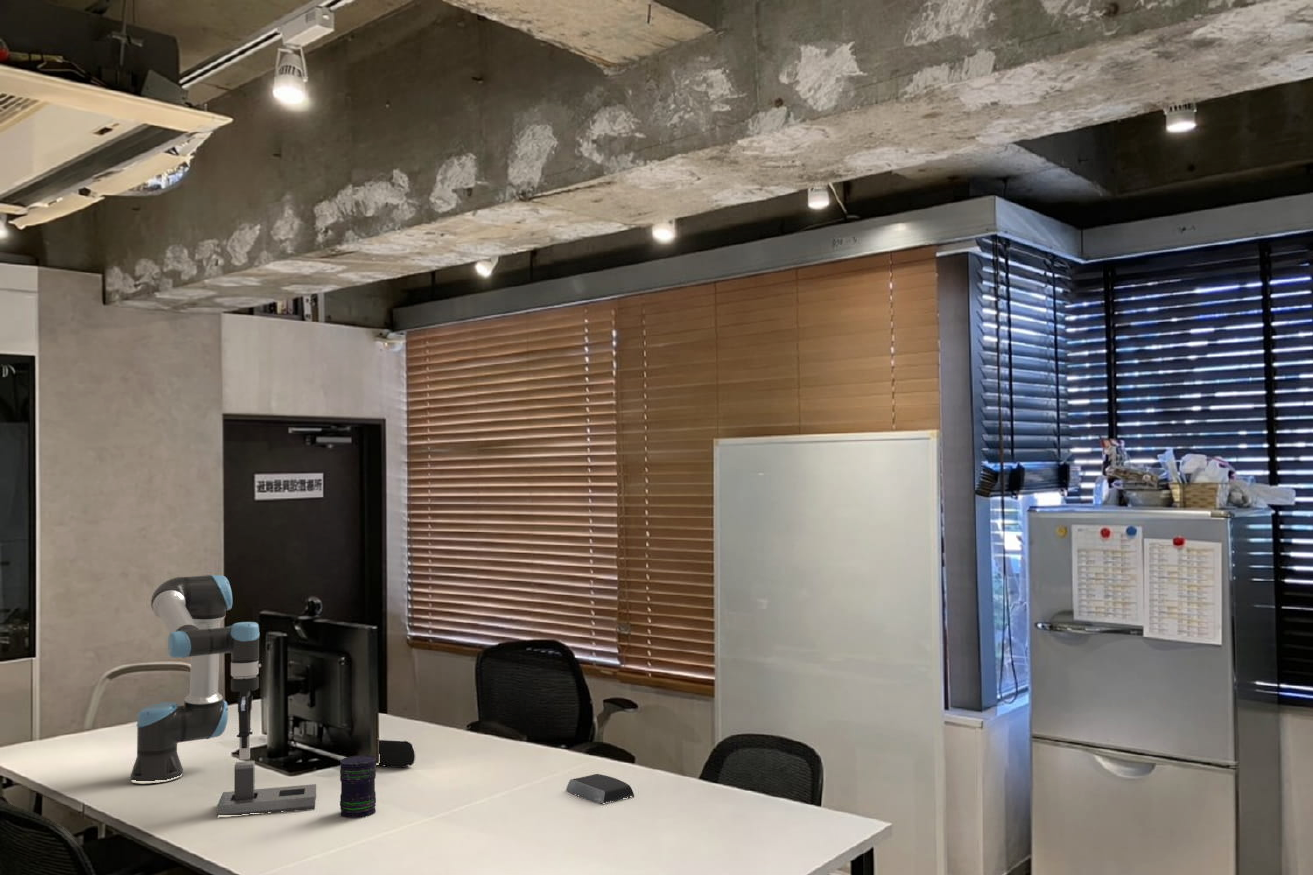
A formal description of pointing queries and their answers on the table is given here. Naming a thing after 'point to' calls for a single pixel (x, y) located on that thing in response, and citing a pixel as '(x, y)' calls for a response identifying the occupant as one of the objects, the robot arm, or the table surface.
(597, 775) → the external hard drive
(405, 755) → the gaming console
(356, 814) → the storage jar
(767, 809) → the table surface
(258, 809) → the socket board
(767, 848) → the table surface
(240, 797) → the plug
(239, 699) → the robot arm
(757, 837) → the table surface
